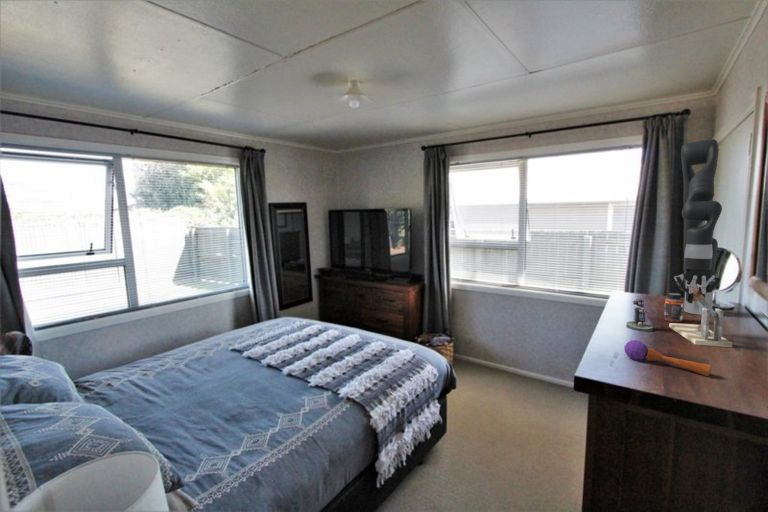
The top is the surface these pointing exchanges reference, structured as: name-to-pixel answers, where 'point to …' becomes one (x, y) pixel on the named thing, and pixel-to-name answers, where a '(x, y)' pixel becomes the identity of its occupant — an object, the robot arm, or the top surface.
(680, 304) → the supplement bottle
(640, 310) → the figurine
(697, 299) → the lever
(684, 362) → the two-tone long tapered part
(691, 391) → the top surface
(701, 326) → the base
